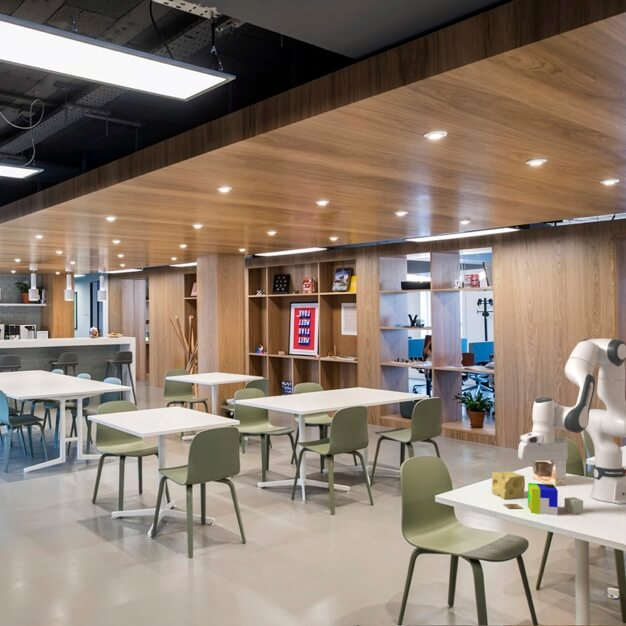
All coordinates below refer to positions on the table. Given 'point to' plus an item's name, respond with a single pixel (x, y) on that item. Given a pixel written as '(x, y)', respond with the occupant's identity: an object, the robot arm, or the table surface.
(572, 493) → the table surface
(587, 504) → the table surface
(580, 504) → the sage block
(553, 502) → the puzzle toy
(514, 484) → the cheese
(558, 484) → the coffeecake box
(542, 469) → the walnut block
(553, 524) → the table surface
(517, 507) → the swatch tile
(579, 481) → the table surface
